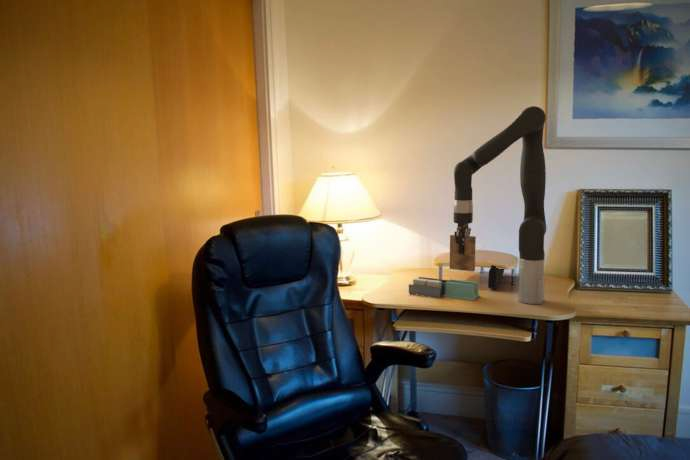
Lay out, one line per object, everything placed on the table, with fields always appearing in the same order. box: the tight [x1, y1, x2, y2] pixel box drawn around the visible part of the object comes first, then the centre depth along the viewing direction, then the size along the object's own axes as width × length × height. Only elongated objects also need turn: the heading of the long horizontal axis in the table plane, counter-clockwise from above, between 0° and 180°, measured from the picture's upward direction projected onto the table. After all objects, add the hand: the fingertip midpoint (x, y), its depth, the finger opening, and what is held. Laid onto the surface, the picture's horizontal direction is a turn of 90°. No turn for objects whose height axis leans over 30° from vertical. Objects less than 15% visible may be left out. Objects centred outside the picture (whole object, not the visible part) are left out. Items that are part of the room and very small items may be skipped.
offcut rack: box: [408, 276, 450, 299], centre depth 219 cm, size 14×11×5 cm
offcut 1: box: [412, 277, 428, 286], centre depth 219 cm, size 6×3×5 cm, turn 58°
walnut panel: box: [449, 234, 477, 272], centre depth 210 cm, size 10×2×14 cm, turn 58°
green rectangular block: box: [444, 278, 480, 302], centre depth 213 cm, size 12×8×6 cm, turn 58°
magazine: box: [487, 264, 505, 290], centre depth 233 cm, size 18×3×31 cm
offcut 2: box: [426, 280, 442, 288], centre depth 216 cm, size 6×3×5 cm, turn 58°
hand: (462, 253), depth 210 cm, fingers closed on walnut panel, 2 cm apart
